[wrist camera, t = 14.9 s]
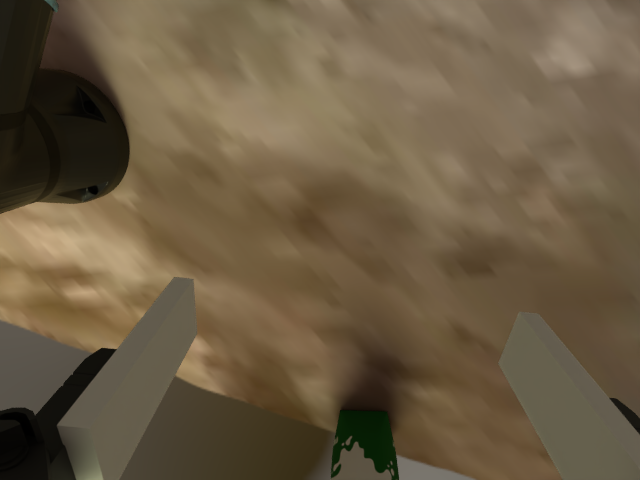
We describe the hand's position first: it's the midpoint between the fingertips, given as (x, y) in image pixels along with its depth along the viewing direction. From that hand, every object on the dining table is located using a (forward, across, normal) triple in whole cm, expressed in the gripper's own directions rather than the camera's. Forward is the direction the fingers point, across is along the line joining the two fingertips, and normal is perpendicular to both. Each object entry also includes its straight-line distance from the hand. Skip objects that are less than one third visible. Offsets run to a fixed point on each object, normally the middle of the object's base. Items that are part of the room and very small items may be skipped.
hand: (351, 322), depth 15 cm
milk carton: (+26, +8, -40) cm, 49 cm away
